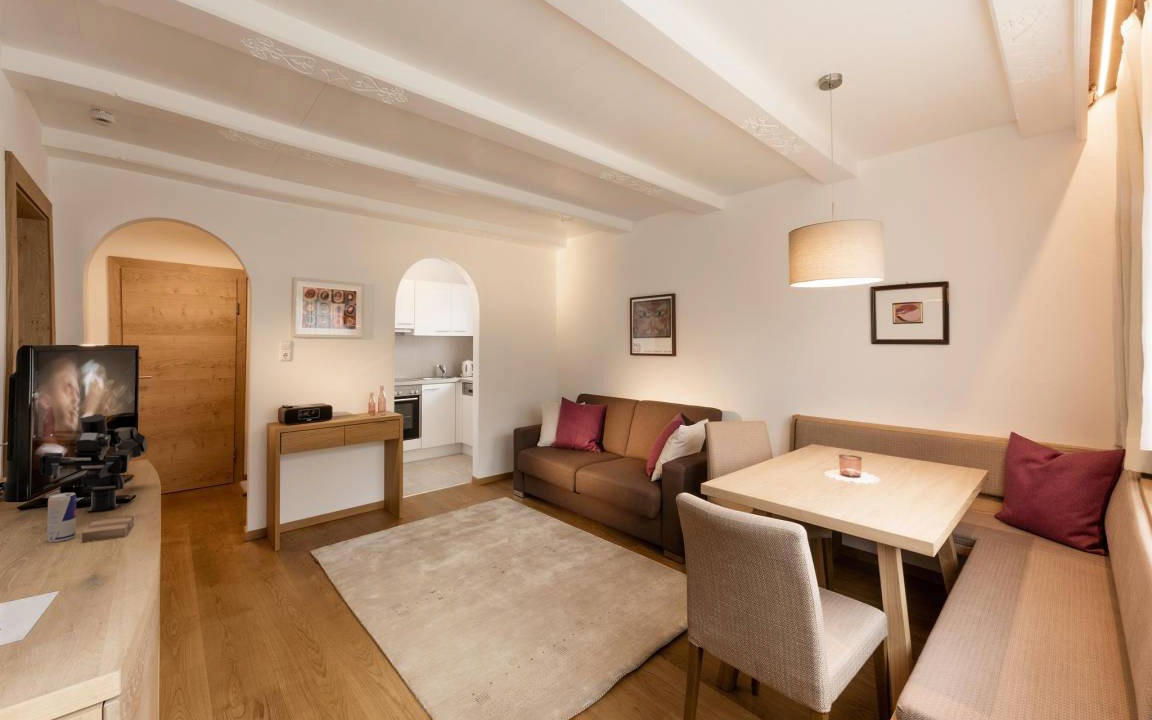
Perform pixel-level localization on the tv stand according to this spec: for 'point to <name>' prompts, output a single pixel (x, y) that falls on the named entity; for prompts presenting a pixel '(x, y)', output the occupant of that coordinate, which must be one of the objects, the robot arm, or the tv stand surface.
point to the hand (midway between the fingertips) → (76, 477)
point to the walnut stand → (108, 528)
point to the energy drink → (61, 517)
